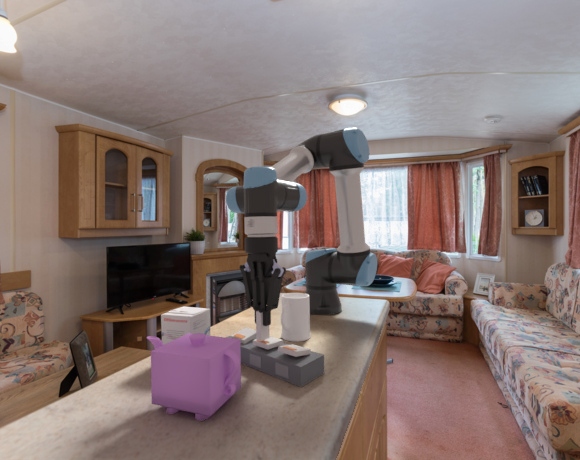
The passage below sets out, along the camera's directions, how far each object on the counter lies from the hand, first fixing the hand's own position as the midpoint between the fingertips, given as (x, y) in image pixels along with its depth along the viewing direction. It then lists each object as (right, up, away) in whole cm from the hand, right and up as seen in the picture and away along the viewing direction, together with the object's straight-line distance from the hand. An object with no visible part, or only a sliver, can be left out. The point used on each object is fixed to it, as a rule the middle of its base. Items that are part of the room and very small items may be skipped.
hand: (263, 338), depth 76 cm
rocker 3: (+7, -1, -4) cm, 8 cm away
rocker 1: (-5, -1, +6) cm, 8 cm away
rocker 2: (+1, -1, +1) cm, 2 cm away
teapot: (-12, -7, -15) cm, 20 cm away
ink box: (-19, -7, +5) cm, 21 cm away
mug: (+7, -6, +19) cm, 21 cm away
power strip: (-1, -6, +3) cm, 7 cm away
